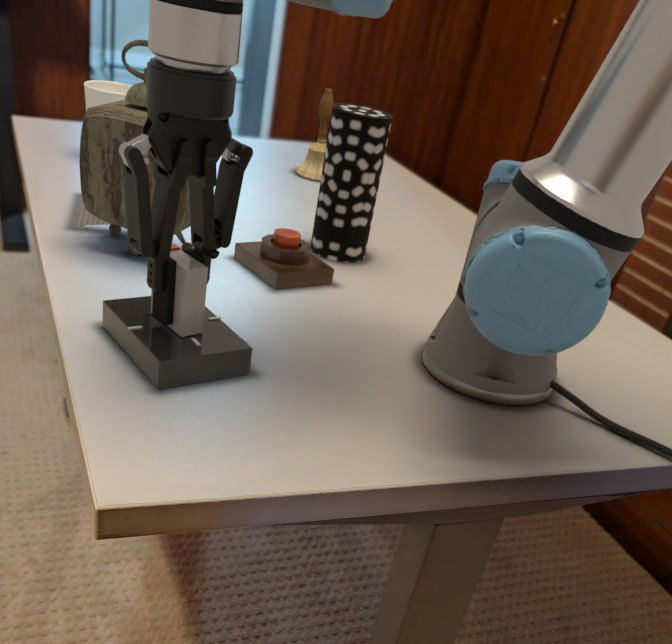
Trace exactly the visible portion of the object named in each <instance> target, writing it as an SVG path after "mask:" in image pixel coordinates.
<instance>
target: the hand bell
mask: <svg viewBox="0 0 672 644" xmlns="http://www.w3.org/2000/svg"><path fill="white" fill-rule="evenodd" d="M333 104H334V96H333V89H332V88H329V87H327V88H326V87H325V89H324V92H323V94H322V96H321V99H320V102H319V108H318V117H319V127H318V132H317V133H318V135H317V140H316V142H315V143H312V144H311V145H309V146H308V151H307V154H306V156H305V158H304V161H303V162H302V164H301V165H300V166H298V167H297V168H296V169H295V173H296V175H298V176H299V177H302V178H303V179H307V180H311V181H315V182H321V176H322V170H323V163H324V157H325V151H326V144H327V138H328V129H329V124H330V119H331V112H332V106H333Z"/></svg>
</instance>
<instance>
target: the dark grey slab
mask: <svg viewBox="0 0 672 644" xmlns="http://www.w3.org/2000/svg"><path fill="white" fill-rule="evenodd" d="M102 328H103V329H104V330H105V331H106V332H107V333H108V335H110V337H111V338H112V339H113V340H114V341H115V342H116V344H118V345H119V346H120V348H121V349H122V350H123V352H124V353H126V354H127V356H128V357H129V358H130V359H131V360H132V361H133V363H134V364H135V365H136V366H137V367H138V368H139V369H140V370H141V372H142V373H143V374H144V375H145V376H146V377H147V379H148V380H149V381H150V382H151V383H152V384H153V386H154V387H156V389H157V390H164V389H169V388H175V387H176V388H177V387H180V386H181V387H182V386H188V385H193V384H199V383H204V382H210V381H216V380H221V379H223V380H224V379H228V378H234V377H239V376H245V375H250V372H251V365H252V358H253V357H252V356H253V350H254V348H253V347H252V346H251V345H250V344H249V343H248V342H246V341H245V340H244V339H243V338H242V337H241V336H240V335H238V333H236V332H235V331H234V330H233V329H232V328H231V327H230V326H229V325H227V324H226V323H225V322H224V321H223V320H222V317H221V316H220V315H219V316H217V315H216V314H215V313H214V312H213V311H212V310H210V309H209V308H208V307H207V306H206V305H205V311H204V323H203V333H201V334H196V335H191V336H186V337H181V336H180V335H178V334H177V333H176V332H174V331H173V330H172V329H171V328H169V327H168V326H167V325H165V324H164V323H163V322H162V321H160V320H159V319H158V318H156V317H155V316H154V315H153V314H151V295H147V296H146V295H145V296H136V297H125V298H114V299H113V298H112V299H105V300H102Z"/></svg>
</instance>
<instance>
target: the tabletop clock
mask: <svg viewBox="0 0 672 644" xmlns="http://www.w3.org/2000/svg"><path fill="white" fill-rule="evenodd" d="M135 47H146V48H148V40H147V39H134V40H131V41H129V42H128V43H126V45H124V46H123V48H122V51H121V56H120V57H121V61H122V65H123V66H124V68H125V69H126V70H127V72H128V73H130V74H131V75H133V76H134V77H136V78H137V79H140V80H141V81H143V82H137V83H134V84H133V85H132V87H130V89H129V90H128V92H127V94H126V97H125V100H121V101H116V102H112V103H107V104H102V105H98V106H94V107H90V108H88V109H87V111H86V110H85V114H84V117H83V119H82V125H81V131H80V140H79V179H80V193H81V195H82V199H83V203H84V206H85V208H86V210H87V211H88V212H90V213H91V214H92V215H94V216H96V217H98V218H99V219H101V220H103V221H106V222H108V223H111V224H109V226H108V230H109V233H110V234H112V235H113V236H118V235H120V234H121V232H122V228H123V229H125V230H127V219H126V206H125V194H124V181H123V169H122V166H121V163H120V161H119V159H118V156H117V154H116V152H115V149H114V146H115V143H116V142H117V141H118V140H123V141H125V142H129V141H130V140H132V139H134V138H136V137H138V136H139V135H141V134H142V128H143V125H144V123H145V121H146V119H147V115H148V109H147V103H146V79H147V66H146V67H144V68H143V72H141V71H139V70H136V69H135V68H133V67H132V66H130V64H129V63H127V59H126V55H127V53H128V52H129V50H130V49H132V48H135ZM148 157H149V160H150V162H149V164H148V165H146V167H147V170H148V174H149V185H150V202H151V207H152V201H153V194H154V188H155V178H154V168H155V161H156V160H155V158H154V156H153V155H152V153H151V151H150V150H149V152H148ZM188 228H191V225H190V201H189V181H188V179H187V178H186V184H185V187H184V189H182V190H181V193H180V199H179V205H178V211H177V217H176V223H175V228H174V234H173V236H176V237H177V239H178V241H179V242H180V243H181V244H182V245H180V249H181V250H182V251H184V249H189V248H191V249H192V250H194V247H193V246H192V244H191V242H188V241H186V239H185V236H184V235H183V233H182V232H183V231H184V230H186V229H188ZM127 250H128V253H129V254H130V255H131V256H138V255H140V253H139V252H137V251H136V250H134V249H133V248H132V247H130V246H129V245H128V246H127Z"/></svg>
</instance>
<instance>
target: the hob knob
mask: <svg viewBox="0 0 672 644" xmlns="http://www.w3.org/2000/svg"><path fill="white" fill-rule="evenodd" d="M170 257H171V258H172V259H174V260H175V261H177V265H176V282H175V298H174V314H173V324H170V325H167V326H168V327H169V328H171V329H172V330H173V331H174V332H176V333H177V334H178V335H180V336H181V337H186V336H191V335H196V334H201V333H203V323H204V311H205V306H206V299H207V287H208V284H207V276H208V267H206V266H205V265H203V264H202V263H200V262H199V261H197V260H196V259H194V258H193V257H191V256H190V255H188V254H187V253H185V252H184V251H182V249H181V246H179V245H178V244H175V243H172V246H171V252H170ZM150 291H151V293H150V294H151V295H150V296H151V314H152V306H153V290H152V289H151V290H150Z"/></svg>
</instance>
